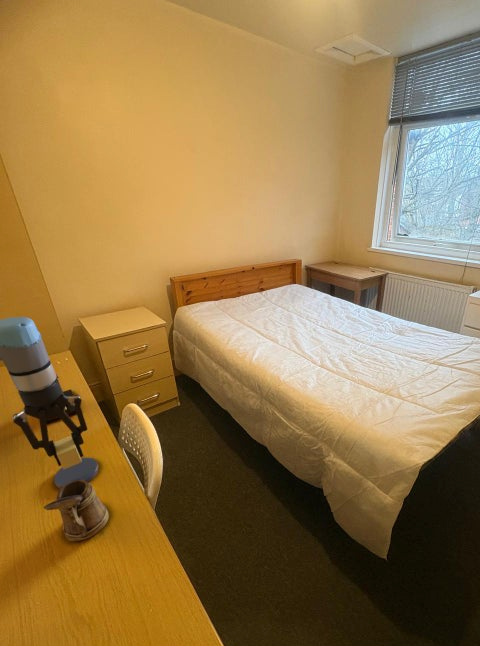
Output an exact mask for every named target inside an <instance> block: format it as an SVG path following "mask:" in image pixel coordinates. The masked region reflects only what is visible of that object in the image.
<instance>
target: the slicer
mask: <svg viewBox="0 0 480 646" xmlns="http://www.w3.org/2000/svg"><path fill="white" fill-rule="evenodd" d="M55 374H56V376H57V377H56V379H59V374H57V373H55ZM63 393H64V394H66V395H67V396H68V397H71V396H74V392H73V390H72V389H68V390H64V391H63ZM66 408H67V409H69V408H70V411H71V413H69V414H67V415H68V416H69V417H70V418H71V417H72V416H76V415H77V414H76V411H75V408H74V406H73V405H71V404H70V402H67V405H66ZM58 421H62V419H60V418H59V417H57V418H54V419H51V420H49V419H47V420H46V422H47V425H49V424H52V423H54V422H55V423H56V422H58Z"/></svg>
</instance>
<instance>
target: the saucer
mask: <svg viewBox="0 0 480 646" xmlns="http://www.w3.org/2000/svg"><path fill="white" fill-rule="evenodd" d="M81 461H82V462H81V463H78V464H76V465H73V466H71V467H69V468H66V469H63V467H62V466H61V467H60V468H59V469H58V471H57V472H56V473H55V475H54V477H53V482H54V484H55V486H56V488H58V489H59V490H60V489H61V488H62V487H63V486H64V485H65V484H67V483H69V482H71V481H74V480H78V479H82V480H86V481H87V482H88V483H89V482H90V481H92V480H93V479H94V478H95V477H96V475H97V473H98V472H99V466H100V465H99V464H98V461H97V460H96V459H95V458H93V457H81Z"/></svg>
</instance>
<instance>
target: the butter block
mask: <svg viewBox="0 0 480 646" xmlns="http://www.w3.org/2000/svg"><path fill="white" fill-rule="evenodd" d="M53 442H54V444H55V448H56V453H57V456H58V459H59V461H60V463H61V468H62V467H63V469H66V468H69V467H71V466H73V465H76V464H78V463H81V462H82V461H81V458H82V457H81V458H80V455H79V453H78V451H77V448H76V446H75V444H74V441H73V439H72V436H71V435H69V436H66V437H64V438H61V439H58V440H55V441H53Z"/></svg>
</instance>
